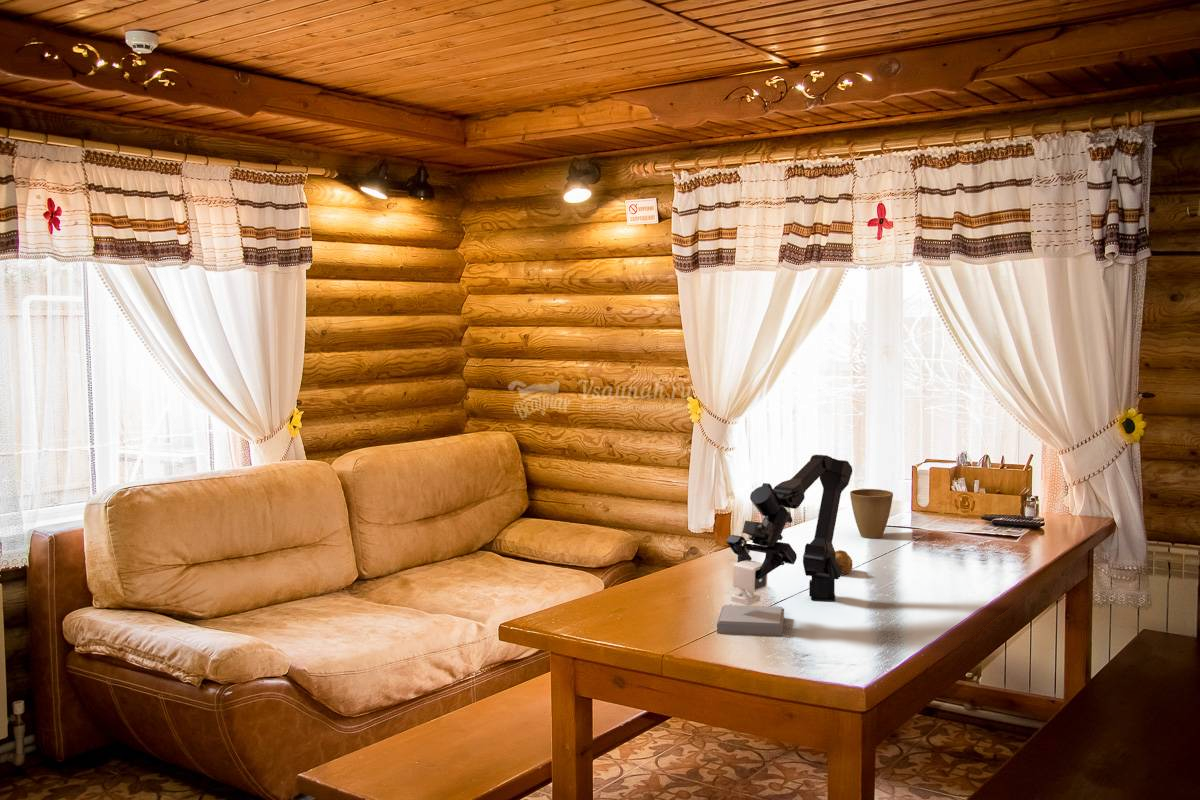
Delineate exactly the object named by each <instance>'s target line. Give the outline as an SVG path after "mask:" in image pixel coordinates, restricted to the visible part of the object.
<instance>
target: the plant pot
mask: <svg viewBox="0 0 1200 800" xmlns="http://www.w3.org/2000/svg"><path fill="white" fill-rule="evenodd" d="M849 496H850V502H851V508H852V513H853V516H854V520H855V524H856V527H857V530H858V532H859V535H860V537H862V538H864V539H881V538H882V537H883V535H884V532H885V530H886V528H887V525H888V521H889V517H890V514H891V508H892V505H893V504H892V503H893V499H894V498H893V496H894V492H893V491H890V490H886V489H880V488H879V489H878V488H876V489H875V488H860V489H852V490H850V491H849Z"/></svg>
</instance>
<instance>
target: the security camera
mask: <svg viewBox="0 0 1200 800" xmlns="http://www.w3.org/2000/svg"><path fill="white" fill-rule="evenodd" d="M762 564H763V562H758V561H755V560H751V561H750V560H744V561H741V562H738V563H737V562H735V563H734V565H733V579H732V580H733V581H732V586H733V588H738V589H739V590H740V591H741V592H738V593H735V594H733V595H730V596H731V597H730V601H731V602H735V603H739V604H742V605H744V606H752V605H754V604H756V603H759V602H761V595H758V594H754V593H756V592H759V591H762V590H764V589H767V586H768V574H767V575H765V576H764V577H763V578H761V579H758V578H757V575H758V572H759V570H760V568H761V566H762Z"/></svg>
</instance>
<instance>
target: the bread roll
mask: <svg viewBox="0 0 1200 800" xmlns="http://www.w3.org/2000/svg"><path fill="white" fill-rule="evenodd" d="M835 553H836V557H835V561H836V562H837V564H838V565H839V567H840V568H841V576H843V575H844V576H845V575H846V574H849V573H850V572H851V571H852V570H853V559H852V557H851V556H850V555H849V554H848V553H847V552H846V551H845V550H841V549H840V550H835Z"/></svg>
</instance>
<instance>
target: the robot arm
mask: <svg viewBox="0 0 1200 800" xmlns="http://www.w3.org/2000/svg"><path fill="white" fill-rule="evenodd" d="M852 475H853V466H852V465H851V464H850V462H849V461H848V460H841V459H837V458H833V457H832V456H829V455H824V454H814V455H811V457H810V459H809V461H807V463H806V464H805V465H804V466H803V467H802V468H800V470H799V471H797V472H796V474H795V475H794V476H793V477H792V478H790V479H787V480H784V481H780V482H779V483H778V484H776V485H775V486H774V488H773V486H772V485H771V483H766V482H763V483H762V485H761V486H759V487H756V488H755V489H753V491H751V493H750V495H749V496H750V497H749V499H750V501H751V503H752V505H754V507H755V508H756V510H757V511H758V512H759V514H760V515H761V516H763V520H762V522H759V521H753V520H744V523H743V528H742V534H747V535H748V539H749V540H750V541H752V542H748V541H747V540H746V538H745V537H744V536H743V535H736V534H731V535H729V537H728V538H727V540H726V542H725V543H726V544H727V546H728V547H729V549H731V550H732V552H733V553H734V554H735V555H737V562H736V563H738V562H741V561H744V560H750V561H752V559H753V558H752V557H751V555H750V552H757V553H761V554H762V553H763V554H765V558H764V560H763V562H762V563H763V564H762V566H761V568H760V570H759V572H758V575H757V578H758V579H761V578H763V577H764V576H765V575H767V576H768V574H769V573H771V572H772V571H774V570H775V569H777V568H779V567H780V566H785V564H788V565H789V564H790V565H794V564H795V562H796V560H797V558H798V555H797V553H796V551H795V550H794V548H793V547H792V546H791V544H790V543H787V542H781V541H783V540H782V539H783V538H784V537H783V535H782V533H783V531H784V529H785V527H786V524H787V523H789V524H790V523H793V517H792V513H791V512H790V511H788V509H794V510H795V509H796V510H797V508H799V507H800V506H801V505H802V503H803V502H804V500H805V493H806V491H808V489H809V488H810V487H811V486H812V485H813V484H814V483H815V482H817V480H818V479H819V481H820V484H821V485H822V495H821V500H820V505H819V511H818V515H817V516H818V517H817V521H816V528H815V533H814V538H813V539H812V541H810V543H806V544H805V546H804V552H803V555H802V564H803V569H804V573H805V576H809V577H811V579H809V583H808V584H809V585H808V587H809V597H810V599H811V601H824V602H827V601H828V602H835V601H836V595H835V593H836V591H835V589H836V588H835V587H836V586H835V585H836V584H835V582H836V581H835V580H838V579H840V578H841V577H842V575H841V568H840V567H839V565H838V564H837V562H836V561H835V557H836V553H835V551H836V550H835V547H834V545H833V539H834V534H835V533H834V532H835V527H836V522H837V517H838V513H839V512H838V511H839V507H840V500H841V495H842V492H844V490H845V489H846V488H847V487H848V486H849V483H850V481H851V476H852Z"/></svg>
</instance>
